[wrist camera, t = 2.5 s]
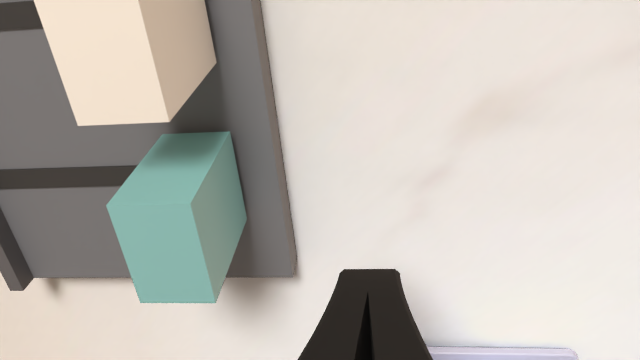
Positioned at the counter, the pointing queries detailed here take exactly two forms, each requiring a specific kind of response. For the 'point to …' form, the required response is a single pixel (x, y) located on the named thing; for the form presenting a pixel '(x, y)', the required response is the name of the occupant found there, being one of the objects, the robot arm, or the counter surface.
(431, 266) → the counter surface
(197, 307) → the counter surface
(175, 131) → the fader console
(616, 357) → the counter surface
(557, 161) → the counter surface
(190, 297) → the teal fader
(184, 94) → the ivory fader
